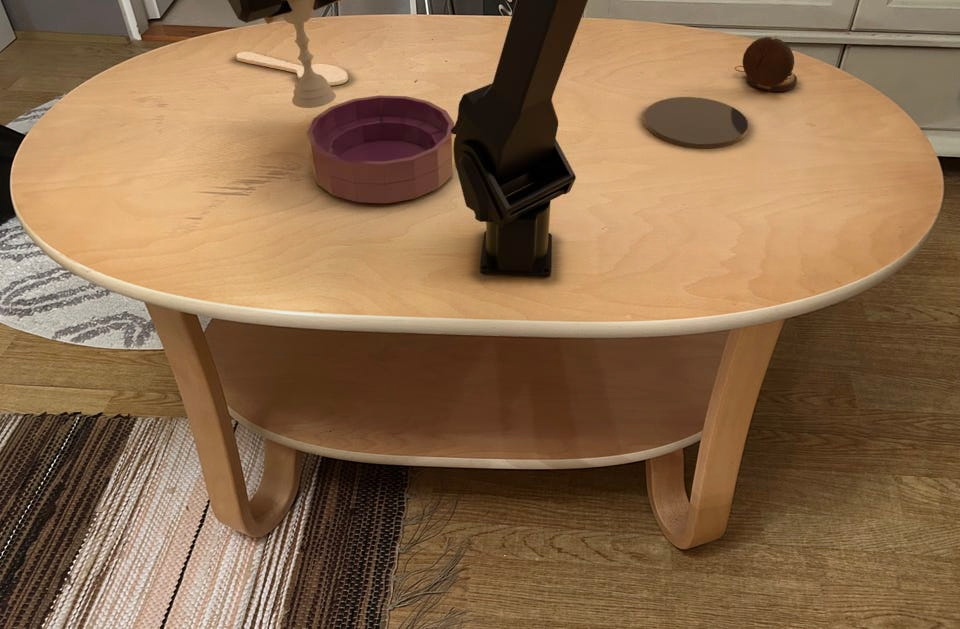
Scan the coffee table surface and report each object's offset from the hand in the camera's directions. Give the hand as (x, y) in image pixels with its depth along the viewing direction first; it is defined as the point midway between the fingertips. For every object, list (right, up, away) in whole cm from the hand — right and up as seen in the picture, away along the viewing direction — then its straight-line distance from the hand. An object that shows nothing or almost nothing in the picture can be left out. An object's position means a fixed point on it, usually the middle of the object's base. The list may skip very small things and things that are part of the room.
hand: (290, 12), depth 86 cm
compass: (+57, -3, +17) cm, 60 cm away
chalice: (+1, -8, +6) cm, 10 cm away
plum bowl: (+10, -17, +1) cm, 20 cm away
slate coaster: (+46, -10, +8) cm, 48 cm away
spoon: (-5, 0, +21) cm, 21 cm away
